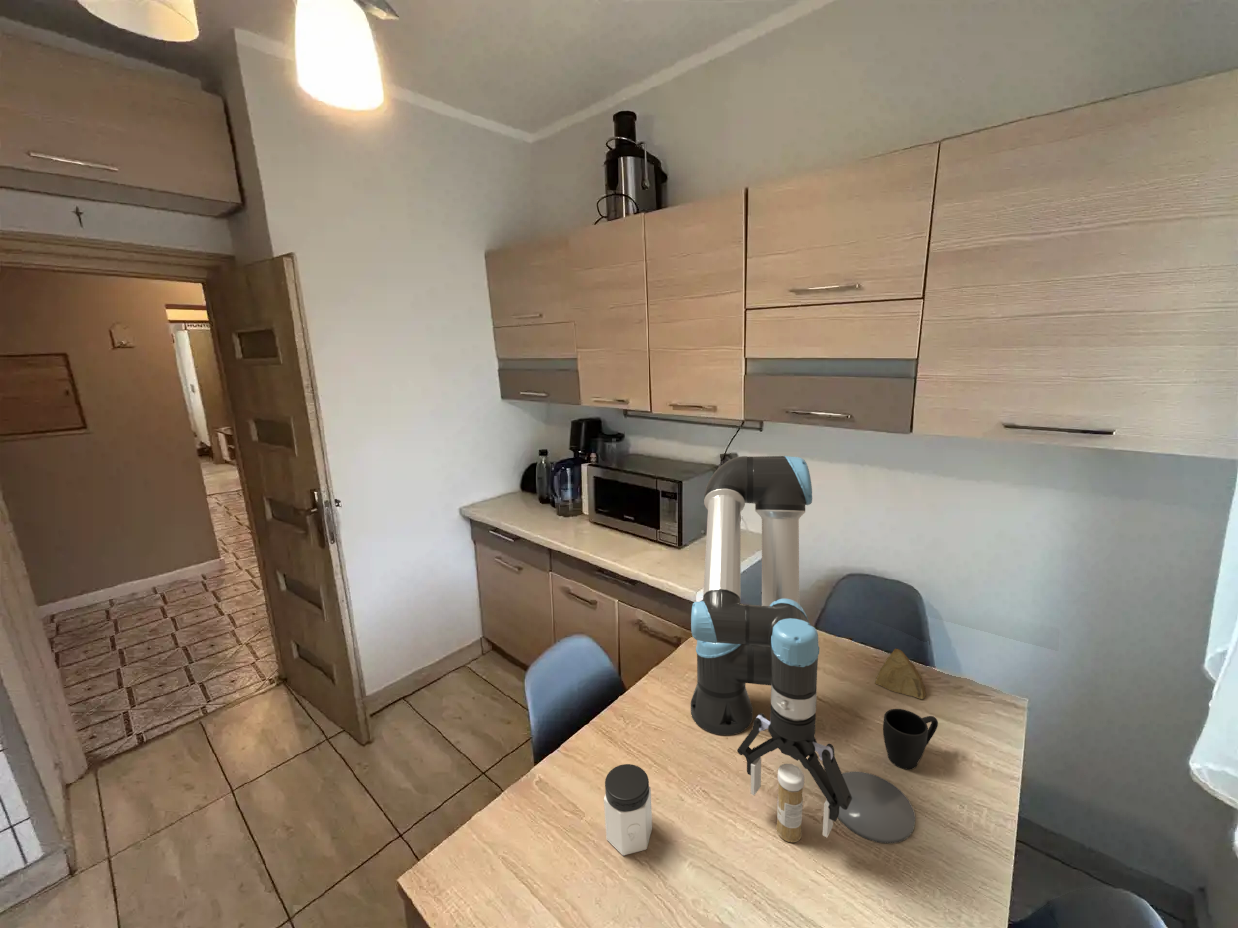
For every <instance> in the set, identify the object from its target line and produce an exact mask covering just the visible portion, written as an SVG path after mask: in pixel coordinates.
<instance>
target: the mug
mask: <svg viewBox="0 0 1238 928" xmlns="http://www.w3.org/2000/svg"><path fill="white" fill-rule="evenodd" d="M929 723H930V725H929V727H928V724H929ZM882 724H883V725H882V733H883V740H884V745H885V746H884V747H885V750H886V752H887V753H886V754H887V758H888V760H889V761H890V762H891V763H892V764H893V765H894V766H896V767H898V768H900V769H903V770H909V771H910V770H914V769H916V767H917V766H918V763H919V762H920V760H921V758H922V757H923V754H924V753H925V750H926V747H927V745H928V744H929V743H930V741H931V739H932V738H933V736H934V735H935V733H936V731H937V729H938V727H939V722H938V719H937V717H935V716H934V715H933V716H932V715H927V716H924V717H921V716H920V715H918V714H916V713H914V712H912V711H910V710H906V709H904V708H890V709H888V710H887V711H885V713H884V715H883V723H882Z"/></svg>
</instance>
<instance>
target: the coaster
mask: <svg viewBox="0 0 1238 928" xmlns="http://www.w3.org/2000/svg"><path fill="white" fill-rule="evenodd" d="M842 775H843V778H844V780H845V782H846V785H847V787H848V789H849V792H850V794H851V796H852V800H851V802H850V804H849V806H848V808H847V810H844V809H842V808H841V807H839V816H838V818H837V819H838V821H840V822H841V823H842V825H844V826H845V827H846V828H847V829H849V830H850V831H851V832H853V833H854V834H856V835H858V836H860V837H862V838H864V839H866V840H868V841H873V842H874V843H879V844H897V843H901V842H903V841H905V840H907V839H908V838H909V837H910V836H911V835H912V834H913V832H914V829H915V825H916V823H915V822H916V814H915V810H914V808H913V806H912V803H911V802H910V801H909V799H908V798H907V796H906V795H905V794H904V793H903V792H902V790H900V789H899V788H898V787H897V786H895V784H893V783H892V782H890V781H888V780H886V779H884V778H882V777H880V776H878V775H876V774H872V773H869V772H865V771H855V770H854V771H846V772H842Z"/></svg>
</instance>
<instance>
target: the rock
mask: <svg viewBox="0 0 1238 928" xmlns="http://www.w3.org/2000/svg"><path fill="white" fill-rule="evenodd" d="M875 679H876V680H875V681H874V684H875V685H879V686H881V687H883V688H885V690H889V691H892V692H895V693H898V694H903V695H905V696H909V697H914V698H917V699H919V700H924V699H926V696H927V691H926V685H925V684H924V682H923V677H921V674H920V673H919V672H918V670H917V668H916V666H915V665H914V663H912V662H911V660H910V659H909V658H908V657H907V655H906V654H905V653H904V651H902V650H901V649H899V648H894V649H893V650H892V652H891V653H890V654H889V656H888V657H887V659H886V661H885V662H884V664H883V665H882V667H881V668H880V669H879V672H878V675H877V677H876V678H875Z"/></svg>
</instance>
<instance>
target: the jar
mask: <svg viewBox="0 0 1238 928" xmlns="http://www.w3.org/2000/svg"><path fill="white" fill-rule="evenodd" d="M604 787H605V794H604V797H603V805H604V806H603V807H604V822H605V823H604V824H605V836H606V837H605V839H606V841H608V843H609V844H610V845H612V846H613V847H614V848H615V849H616V851H618V853H620V855H622V856H627V855H630V854H634V853H639V852H641V851H645V850H647V849H648V845H649V843H650V838H651V835H652V831H653V814H652V813H653V812H652V811H653V810H652V809H653V808H652V792H651V791H652V788H651V786H650V782H649V777H648V775H647V773H646V771H645V769H643V768H641V767H640V766H638V765H635V764H631V763H625V764H624V763H623V764H619V765H617V766H615V767H613V768H612V769H611V770H610V771H609V772H608V773H607V775H606V777H605V780H604Z"/></svg>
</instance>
